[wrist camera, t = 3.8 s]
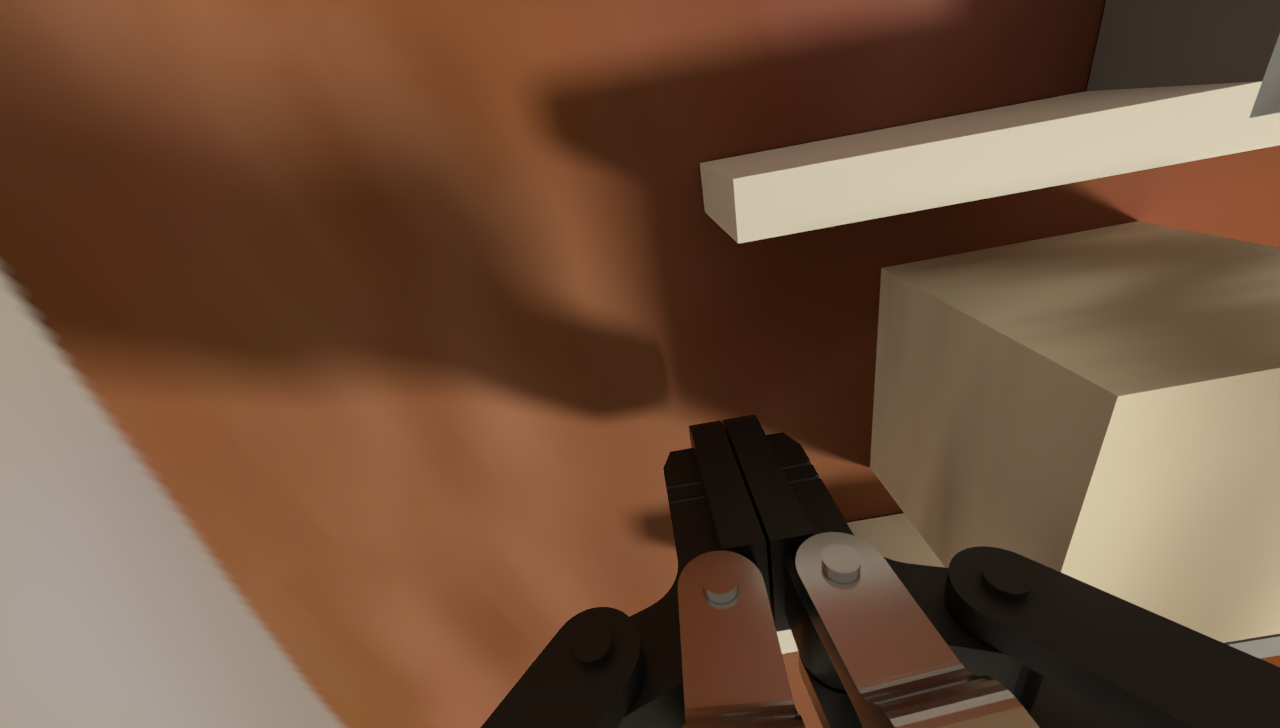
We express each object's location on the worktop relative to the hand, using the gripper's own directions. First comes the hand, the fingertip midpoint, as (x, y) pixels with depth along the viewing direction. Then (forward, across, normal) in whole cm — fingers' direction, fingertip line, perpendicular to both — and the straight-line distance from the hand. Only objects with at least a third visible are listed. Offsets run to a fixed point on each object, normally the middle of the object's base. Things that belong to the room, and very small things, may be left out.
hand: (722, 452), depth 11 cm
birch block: (+2, -8, 0) cm, 8 cm away
